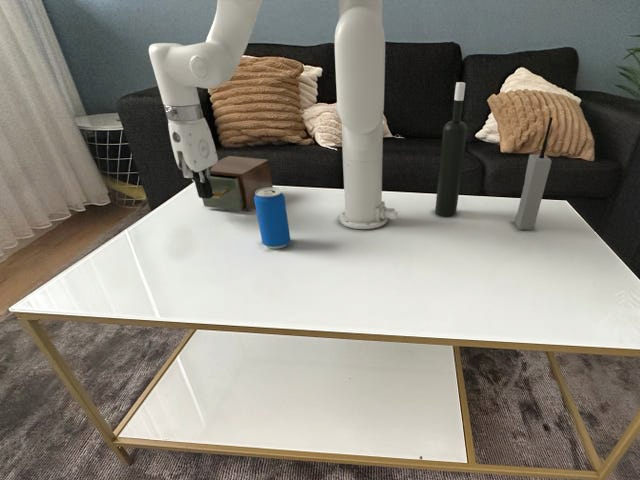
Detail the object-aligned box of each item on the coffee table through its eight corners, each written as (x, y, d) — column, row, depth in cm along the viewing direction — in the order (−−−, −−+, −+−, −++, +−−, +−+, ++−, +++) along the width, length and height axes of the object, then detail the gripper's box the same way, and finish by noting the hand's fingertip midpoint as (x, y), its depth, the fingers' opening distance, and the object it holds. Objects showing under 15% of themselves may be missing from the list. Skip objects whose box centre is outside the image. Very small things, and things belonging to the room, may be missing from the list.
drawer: (233, 216, 105) (226, 185, 100) (194, 211, 107) (185, 180, 102) (265, 194, 118) (261, 166, 113) (231, 190, 120) (224, 162, 115)
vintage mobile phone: (527, 222, 108) (554, 114, 91) (533, 230, 104) (563, 118, 88) (513, 222, 108) (538, 114, 91) (519, 230, 104) (546, 118, 88)
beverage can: (294, 239, 97) (287, 187, 89) (286, 251, 92) (278, 197, 85) (267, 237, 98) (258, 186, 90) (258, 249, 93) (248, 195, 85)
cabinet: (249, 211, 110) (241, 174, 104) (208, 206, 113) (199, 169, 107) (274, 194, 121) (268, 159, 115) (236, 189, 124) (229, 155, 117)
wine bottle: (459, 212, 113) (477, 82, 93) (450, 218, 109) (467, 84, 89) (440, 208, 115) (454, 80, 95) (431, 214, 111) (444, 82, 92)
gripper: (177, 120, 84) (202, 209, 96) (218, 109, 95) (235, 189, 107) (147, 118, 85) (174, 205, 97) (190, 106, 97) (210, 186, 108)
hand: (206, 197), depth 102 cm, fingers closed
